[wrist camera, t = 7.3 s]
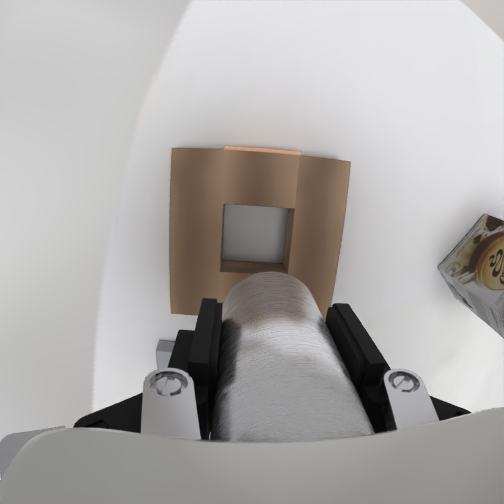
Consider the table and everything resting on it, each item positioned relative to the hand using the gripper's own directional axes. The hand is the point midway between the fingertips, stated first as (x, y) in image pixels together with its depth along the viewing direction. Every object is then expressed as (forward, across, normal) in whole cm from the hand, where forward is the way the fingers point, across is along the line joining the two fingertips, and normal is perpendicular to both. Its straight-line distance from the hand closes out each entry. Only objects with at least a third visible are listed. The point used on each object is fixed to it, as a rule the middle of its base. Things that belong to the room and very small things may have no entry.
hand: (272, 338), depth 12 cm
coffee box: (+17, -25, +1) cm, 31 cm away
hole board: (+17, 0, 0) cm, 17 cm away
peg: (+2, 0, 0) cm, 2 cm away
